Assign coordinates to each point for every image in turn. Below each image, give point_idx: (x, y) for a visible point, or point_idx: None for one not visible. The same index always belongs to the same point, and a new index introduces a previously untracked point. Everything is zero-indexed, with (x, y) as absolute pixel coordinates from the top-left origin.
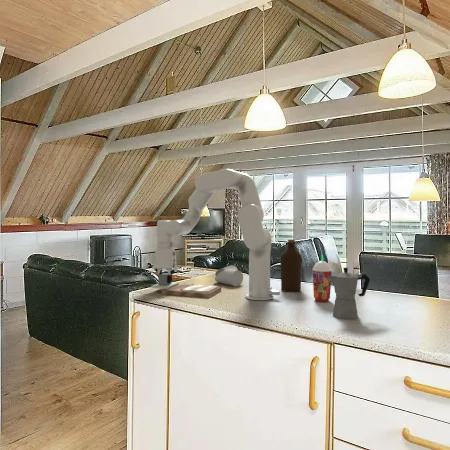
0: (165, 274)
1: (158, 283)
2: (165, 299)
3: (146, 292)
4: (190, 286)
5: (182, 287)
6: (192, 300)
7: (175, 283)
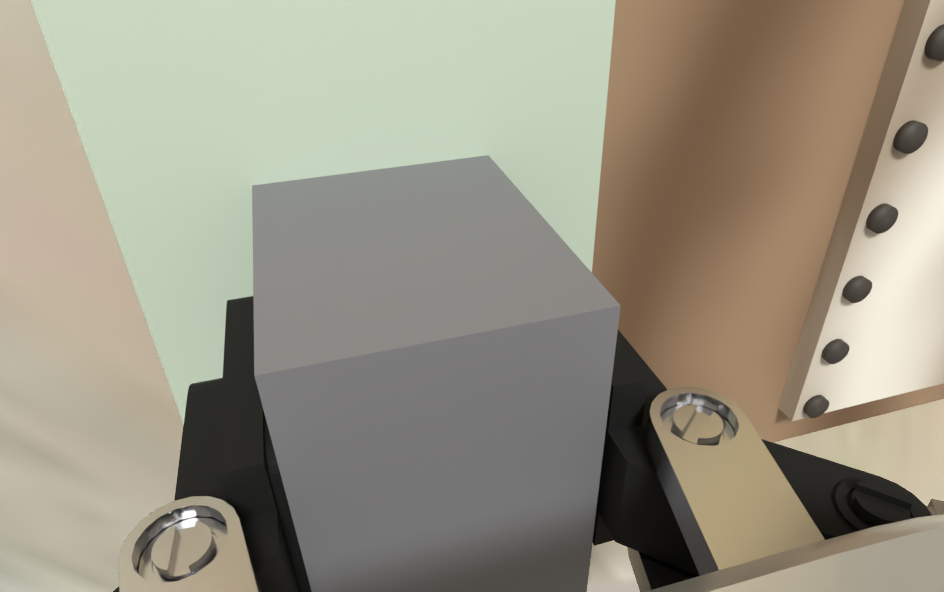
0: (503, 548)
1: (146, 315)
2: (635, 577)
3: (149, 500)
4: (931, 156)
5: (763, 197)
6: (896, 472)
7: (586, 109)
